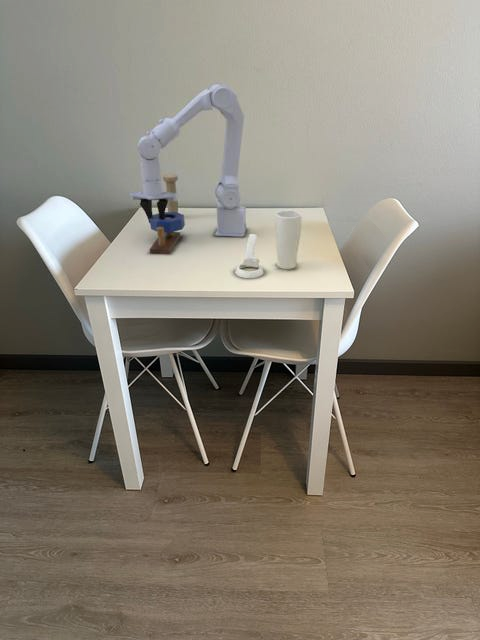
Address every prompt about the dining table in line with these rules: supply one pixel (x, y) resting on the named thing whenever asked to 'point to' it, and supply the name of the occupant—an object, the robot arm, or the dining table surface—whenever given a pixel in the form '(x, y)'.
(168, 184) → the handle
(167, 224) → the ring
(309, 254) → the dining table surface
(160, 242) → the rack
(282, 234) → the drinking glass
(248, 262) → the white stemmed ring
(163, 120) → the robot arm
